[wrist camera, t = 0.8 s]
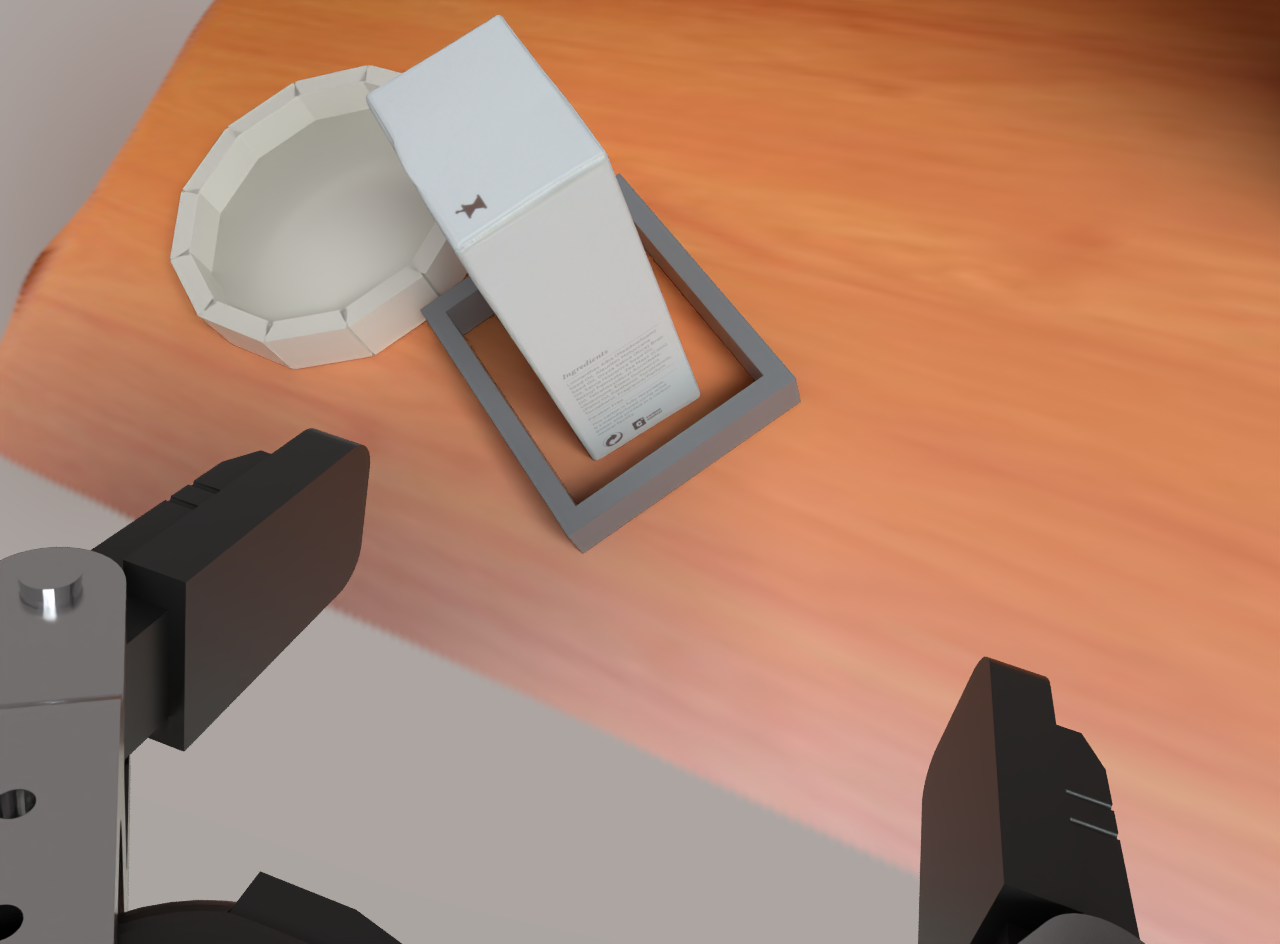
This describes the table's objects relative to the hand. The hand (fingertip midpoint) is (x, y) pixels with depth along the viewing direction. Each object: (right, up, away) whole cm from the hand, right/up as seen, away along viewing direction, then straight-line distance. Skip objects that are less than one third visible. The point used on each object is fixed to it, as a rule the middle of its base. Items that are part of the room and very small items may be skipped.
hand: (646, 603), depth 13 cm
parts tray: (-1, +5, +22) cm, 23 cm away
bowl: (-11, +11, +27) cm, 32 cm away
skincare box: (-1, +5, +22) cm, 23 cm away
